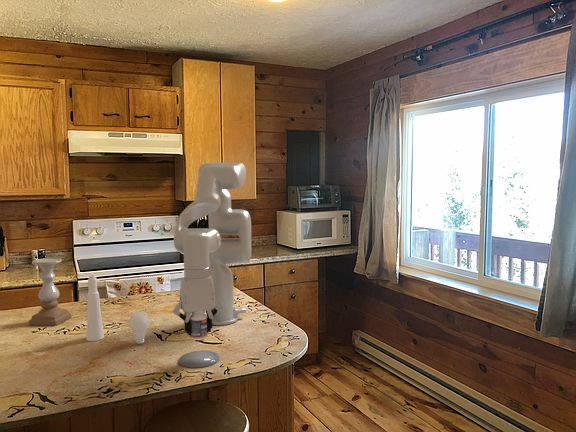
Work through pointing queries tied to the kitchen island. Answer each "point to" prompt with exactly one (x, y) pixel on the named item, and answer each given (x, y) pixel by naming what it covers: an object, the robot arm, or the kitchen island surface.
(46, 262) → the candle holder
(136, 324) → the light bulb
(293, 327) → the kitchen island surface
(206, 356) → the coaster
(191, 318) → the pill bottle
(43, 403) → the kitchen island surface
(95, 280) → the cosmetic bottle
